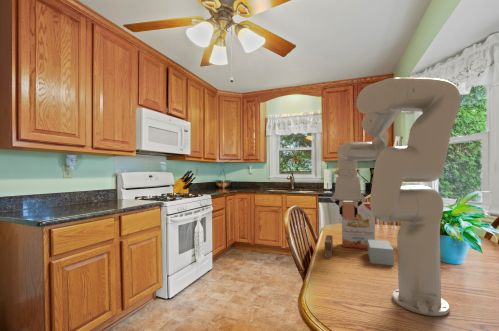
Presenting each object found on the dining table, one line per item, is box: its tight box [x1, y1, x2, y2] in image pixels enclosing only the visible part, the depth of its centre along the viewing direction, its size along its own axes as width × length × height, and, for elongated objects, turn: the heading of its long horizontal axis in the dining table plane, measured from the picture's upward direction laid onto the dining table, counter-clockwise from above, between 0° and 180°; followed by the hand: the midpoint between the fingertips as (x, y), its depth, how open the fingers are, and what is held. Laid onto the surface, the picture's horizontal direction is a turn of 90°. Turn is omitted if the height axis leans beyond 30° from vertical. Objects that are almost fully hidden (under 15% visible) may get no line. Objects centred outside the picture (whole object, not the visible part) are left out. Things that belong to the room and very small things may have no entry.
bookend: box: [324, 234, 334, 259], centre depth 107 cm, size 12×2×6 cm, turn 159°
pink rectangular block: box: [343, 200, 355, 220], centre depth 105 cm, size 10×4×7 cm, turn 159°
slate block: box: [367, 239, 395, 266], centre depth 100 cm, size 12×8×6 cm, turn 159°
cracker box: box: [341, 201, 376, 250], centre depth 117 cm, size 14×6×21 cm, turn 73°
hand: (348, 216), depth 105 cm, fingers closed on pink rectangular block, 4 cm apart
